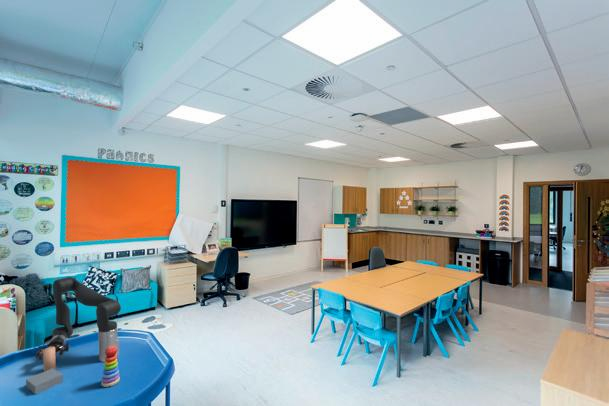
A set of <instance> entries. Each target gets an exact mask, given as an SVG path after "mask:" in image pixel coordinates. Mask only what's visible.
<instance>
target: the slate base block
mask: <svg viewBox="0 0 609 406" xmlns="http://www.w3.org/2000/svg"><path fill="white" fill-rule="evenodd" d="M63 378H64V374H63V373H61V372H60V371H58V370H55V369H54V368H52V369H50V370H47V371H45V372H44V371H43V372H40V373H37V374H36V375H33V376H31V377H28V378H26V379H25V385H26V388H27V389H28V390H30V391H31V392H32V393H33V394H34V395H37V394H39V393H42V392H44V391H46V390H48V389H50V388H53V387H55V386H57V385H59V384H62V383H63V382H64V379H63Z"/></svg>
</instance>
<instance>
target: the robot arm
mask: <svg viewBox="0 0 609 406" xmlns="http://www.w3.org/2000/svg"><path fill="white" fill-rule="evenodd" d="M68 292H75V294H74V298H75V300H76V301H77V302H78V303H79V304H81V305H82V306H86V307H96V308H95V309H96V310H95V314H96V315H95V317H96V325H97V329H98V331H97V333H98V361H100V362H104V363H105V361H106V360H105V358H106V357H107V356H106V354H105V351H106V349H107V348H108V347H110V346H115V347H116V348H117V352H116V355H117V357H119V356H120V339H118V323H117V322H116V321H114V320H109V318H111V317H113V316H114V317H115V316H117V315H118V314H119V313H120V312H121V311H122V310H121V309H122V306H121V303H120V302H119V301H117V299H115V298H114V299H113V298H112V297H108V296H105V295H103V294H101V293H99V292H97V290H94V289H92V288H90V287H89V286H86V285H85V284H83V283H81V282H80V281H79V280H78V279H76V278H75V277H74V276H67V277H66V276H65V277H63V278H59V279H55V280H54V281H53V282H52V294H53V300H54V306H55V324H56V325H57V327H56V328H53V330H52V331H51V337H52V338H51V339H50V340H49V343H48V344H47V346H46V348H48V347H55V354H56V353H59V357H61V356H62V355H64V353H66V352H69V350H70V342H68V343H66V340H67V338H70V337H71V336H72V335H73V333H74V329H73V328H74V327H73V326H72V323H71V310H70V307H69V305H68V304H67V303H66V302H65V300H64V299H63V294H65V293H68ZM58 326H59V327H58ZM46 348H44V349H46ZM44 349H42V348H39V349H38V350H37V352H36V353H35V358H37V360H39V361H42V360H43V350H44Z"/></svg>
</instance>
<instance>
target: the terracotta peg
mask: <svg viewBox="0 0 609 406" xmlns="http://www.w3.org/2000/svg"><path fill="white" fill-rule="evenodd" d="M42 350H43V349H42ZM56 359H57V358H56V353H55V347H48V348H47V347H46V349H45V348H44V350H43V358H42V360H43V372H45V371H47V370H50V369H52V368H54V369H55V370H56V369H57V368H56V363H57V362H56Z"/></svg>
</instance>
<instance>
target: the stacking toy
mask: <svg viewBox="0 0 609 406" xmlns="http://www.w3.org/2000/svg"><path fill="white" fill-rule="evenodd" d="M116 352H117V348H116V347H115V346H110V347H108V348H107V349H106V351H105V354H106V356H107V357H106V358H105V360H106V361H105V362H104V365H103V372H102V377H101V384H100V385H101V386H102V387H105V388H109V386H110V387H112V386H115V385H116V384H118V383H119V382H120V380H121V377H120V370H119V366H118V365H119V363H118V359H117V358H118V356H117V355H116Z"/></svg>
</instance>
